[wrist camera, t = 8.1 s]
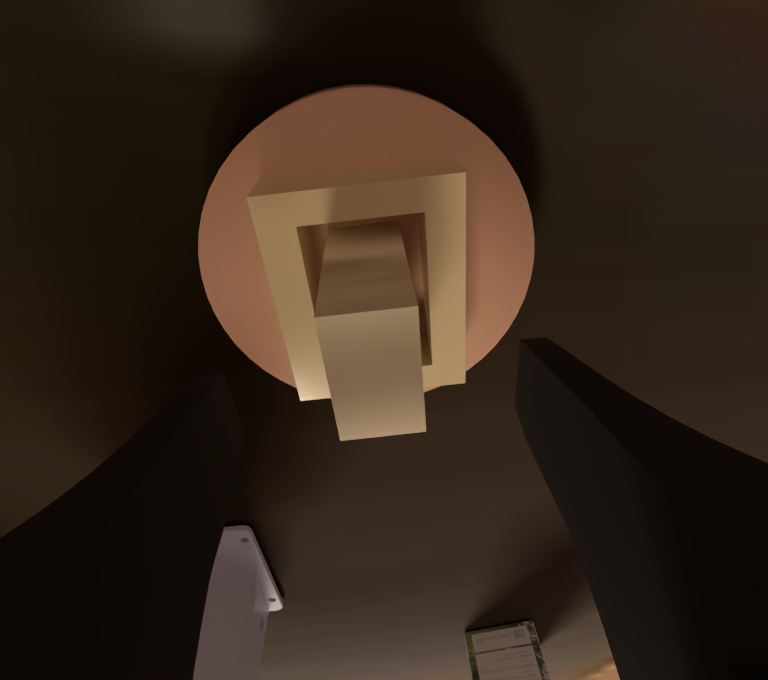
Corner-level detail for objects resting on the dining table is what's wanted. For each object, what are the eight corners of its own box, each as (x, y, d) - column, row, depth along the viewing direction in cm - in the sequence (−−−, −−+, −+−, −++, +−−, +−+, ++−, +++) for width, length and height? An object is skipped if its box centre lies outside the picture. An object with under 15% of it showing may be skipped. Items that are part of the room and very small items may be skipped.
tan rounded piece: (508, 359, 21) (537, 417, 18) (258, 386, 21) (239, 450, 18) (529, 63, 15) (581, 68, 11) (165, 105, 15) (110, 123, 11)
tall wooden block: (406, 320, 17) (426, 431, 12) (344, 327, 17) (340, 441, 12) (397, 220, 15) (418, 306, 10) (327, 228, 15) (313, 317, 10)
